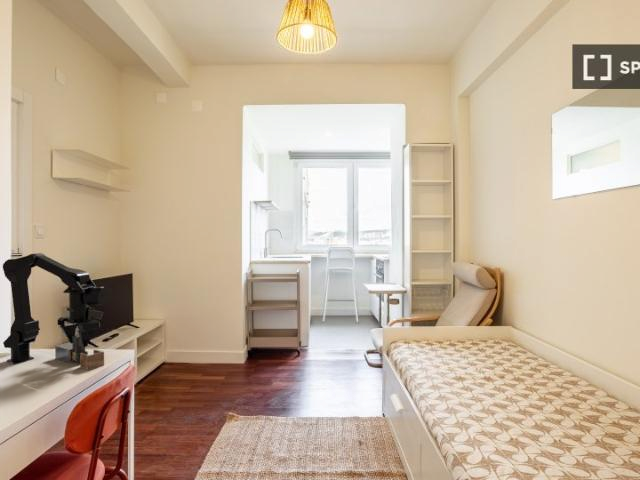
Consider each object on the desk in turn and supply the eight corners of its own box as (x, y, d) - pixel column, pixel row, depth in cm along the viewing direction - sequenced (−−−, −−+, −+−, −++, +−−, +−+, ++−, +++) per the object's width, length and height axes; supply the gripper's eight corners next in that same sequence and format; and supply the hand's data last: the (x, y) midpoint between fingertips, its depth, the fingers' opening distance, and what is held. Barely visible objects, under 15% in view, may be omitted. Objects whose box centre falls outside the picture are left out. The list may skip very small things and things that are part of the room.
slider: (58, 355, 144) (57, 332, 144) (66, 352, 147) (66, 330, 146) (78, 361, 137) (78, 338, 136) (87, 359, 139) (87, 336, 139)
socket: (80, 366, 134) (80, 353, 134) (95, 362, 139) (95, 349, 139) (89, 369, 131) (89, 356, 131) (104, 365, 136) (104, 351, 136)
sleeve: (55, 358, 143) (55, 345, 143) (69, 354, 147) (69, 342, 147) (69, 362, 138) (69, 349, 138) (83, 358, 143) (82, 346, 143)
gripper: (113, 303, 141) (113, 343, 142) (86, 298, 151) (87, 336, 151) (83, 308, 132) (83, 351, 132) (56, 303, 141) (57, 343, 141)
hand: (78, 344), depth 139 cm, fingers open, 9 cm apart
